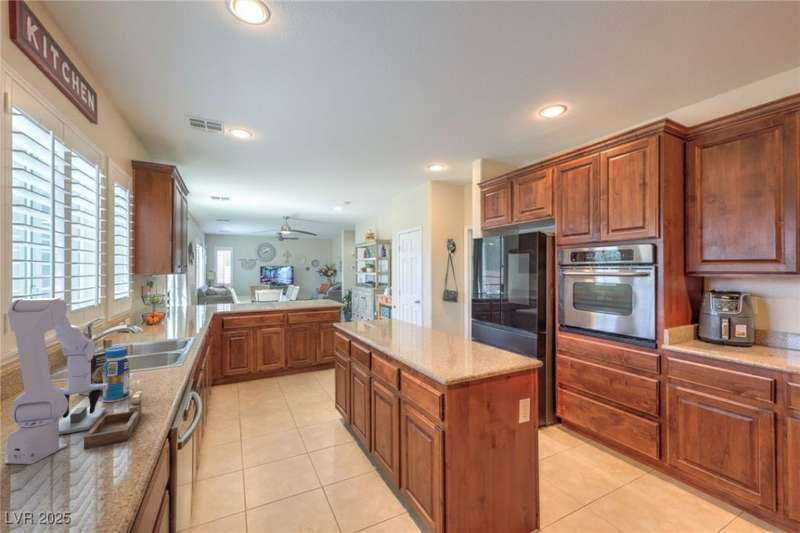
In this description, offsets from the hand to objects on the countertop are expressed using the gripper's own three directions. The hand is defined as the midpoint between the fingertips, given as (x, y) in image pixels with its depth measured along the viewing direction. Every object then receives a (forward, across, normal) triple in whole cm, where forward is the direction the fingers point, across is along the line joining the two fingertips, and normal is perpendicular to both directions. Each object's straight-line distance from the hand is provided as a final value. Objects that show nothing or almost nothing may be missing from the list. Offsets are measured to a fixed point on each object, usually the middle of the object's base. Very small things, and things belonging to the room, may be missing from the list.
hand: (79, 414), depth 112 cm
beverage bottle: (+3, -5, -21) cm, 22 cm away
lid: (+2, 0, 0) cm, 3 cm away
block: (-2, -16, 0) cm, 16 cm away
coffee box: (+3, +5, -35) cm, 36 cm away
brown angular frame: (+3, -13, +11) cm, 17 cm away
